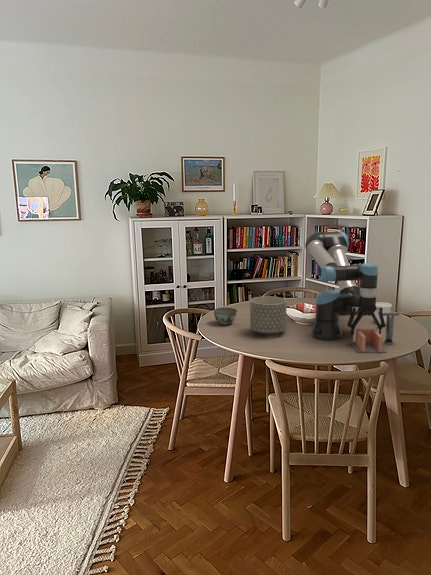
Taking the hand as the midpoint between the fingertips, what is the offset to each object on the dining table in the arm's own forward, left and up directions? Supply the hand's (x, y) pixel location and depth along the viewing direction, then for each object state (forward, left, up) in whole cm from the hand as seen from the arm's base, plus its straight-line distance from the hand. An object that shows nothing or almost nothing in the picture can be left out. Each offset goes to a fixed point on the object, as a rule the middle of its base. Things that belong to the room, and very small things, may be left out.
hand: (365, 341), depth 203 cm
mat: (0, -5, -2) cm, 5 cm away
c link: (0, -5, -1) cm, 5 cm away
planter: (-46, +18, -2) cm, 49 cm away
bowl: (-70, +36, -2) cm, 79 cm away
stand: (+12, +3, -2) cm, 13 cm away
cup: (+19, +38, -2) cm, 43 cm away
